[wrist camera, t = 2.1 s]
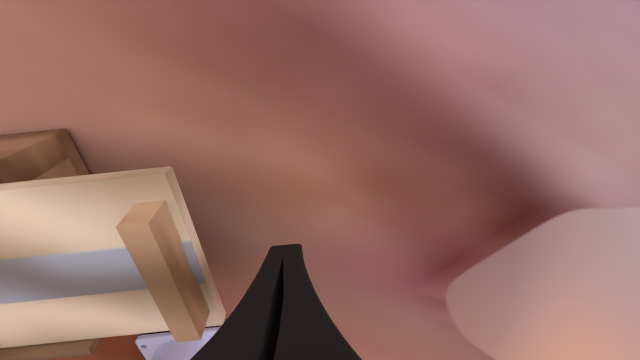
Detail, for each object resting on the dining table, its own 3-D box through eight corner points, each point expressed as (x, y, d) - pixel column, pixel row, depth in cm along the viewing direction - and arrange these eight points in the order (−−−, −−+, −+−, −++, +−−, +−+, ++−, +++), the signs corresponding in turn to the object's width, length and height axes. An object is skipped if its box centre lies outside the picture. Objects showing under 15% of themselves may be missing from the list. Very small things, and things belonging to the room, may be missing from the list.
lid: (225, 313, 17) (215, 353, 15) (-55, 343, 17) (-104, 387, 15) (171, 166, 12) (146, 194, 10) (-212, 205, 12) (-311, 241, 10)
